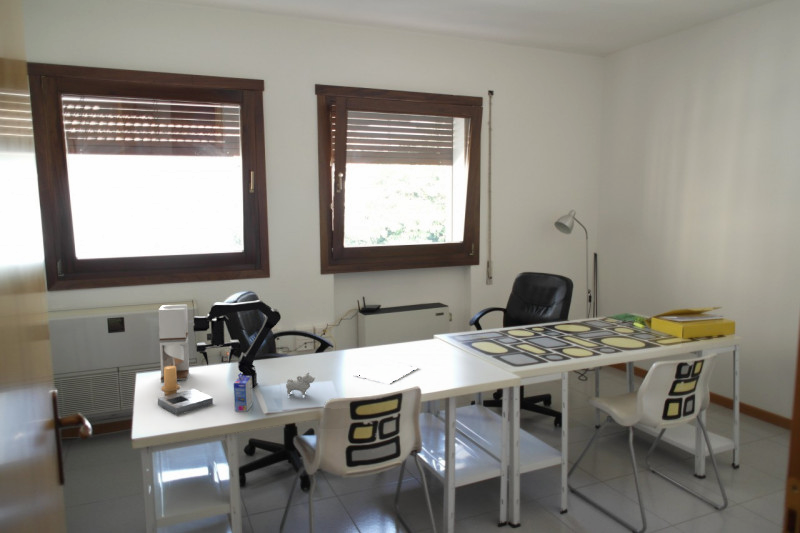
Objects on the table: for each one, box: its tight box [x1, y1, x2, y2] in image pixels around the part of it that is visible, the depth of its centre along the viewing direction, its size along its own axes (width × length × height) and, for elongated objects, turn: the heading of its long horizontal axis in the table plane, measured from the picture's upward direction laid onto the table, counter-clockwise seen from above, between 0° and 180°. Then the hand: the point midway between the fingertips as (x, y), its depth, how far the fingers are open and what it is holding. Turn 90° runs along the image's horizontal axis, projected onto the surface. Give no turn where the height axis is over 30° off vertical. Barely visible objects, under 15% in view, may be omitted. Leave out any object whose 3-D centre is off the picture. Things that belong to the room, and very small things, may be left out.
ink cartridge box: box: [233, 372, 254, 412], centre depth 219 cm, size 10×6×14 cm, turn 2°
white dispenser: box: [158, 304, 190, 383], centre depth 253 cm, size 11×11×35 cm
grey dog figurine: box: [285, 372, 316, 396], centre depth 233 cm, size 5×13×11 cm, turn 89°
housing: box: [157, 388, 214, 416], centre depth 221 cm, size 16×16×3 cm
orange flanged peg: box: [160, 366, 181, 396], centre depth 230 cm, size 8×8×13 cm
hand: (218, 363), depth 239 cm, fingers open, 9 cm apart
